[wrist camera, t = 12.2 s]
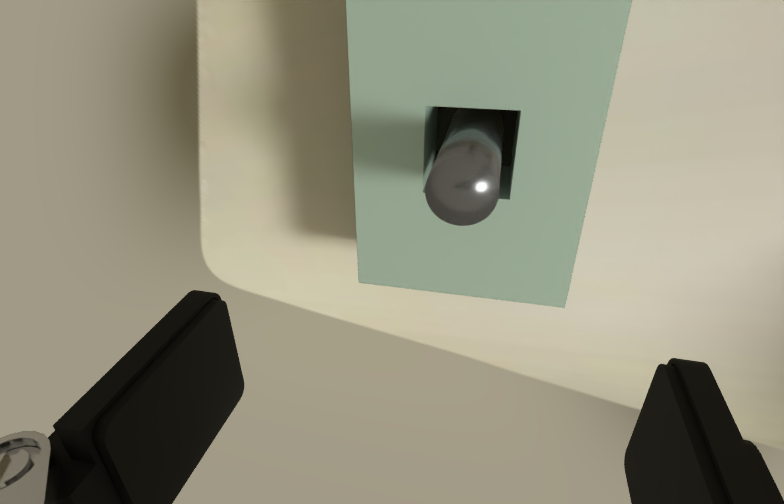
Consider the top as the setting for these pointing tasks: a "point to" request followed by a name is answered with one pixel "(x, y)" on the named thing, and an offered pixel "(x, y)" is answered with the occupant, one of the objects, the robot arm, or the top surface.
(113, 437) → the robot arm
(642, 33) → the top surface
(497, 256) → the green block with hole
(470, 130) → the peg
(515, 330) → the top surface
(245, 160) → the top surface
